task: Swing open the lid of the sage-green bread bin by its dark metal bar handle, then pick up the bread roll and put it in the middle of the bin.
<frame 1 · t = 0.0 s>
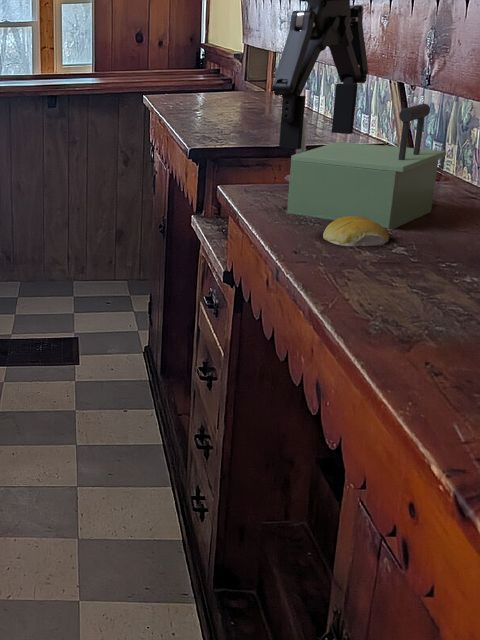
hand: (316, 140, 115), 15 cm above the worktop, tool pointing down, fingers open, 13 cm apart
bread bin: (358, 214, 139), on the worktop
bread roll: (354, 246, 123), on the worktop
screw: (297, 190, 158), on the worktop
bin lid: (370, 131, 134), point 13 cm above the worktop, hinge at 0.0°
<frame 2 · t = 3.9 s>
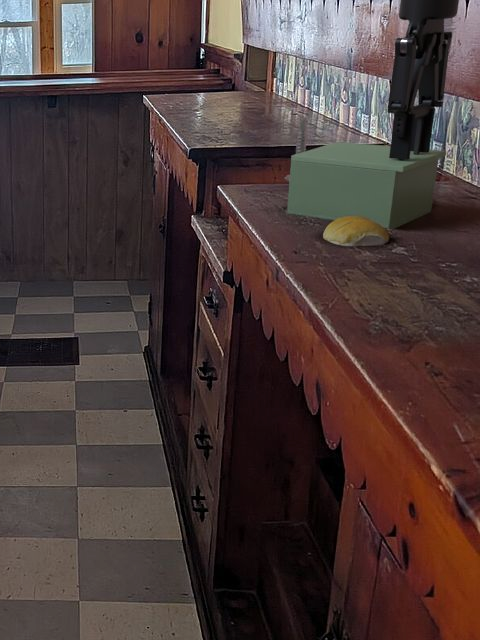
hand: (409, 154, 130), 10 cm above the worktop, tool pointing down, fingers closed on bin lid, 6 cm apart
bin lid: (370, 131, 134), point 13 cm above the worktop, hinge at 0.0°, touching gripper
everything else where it was.
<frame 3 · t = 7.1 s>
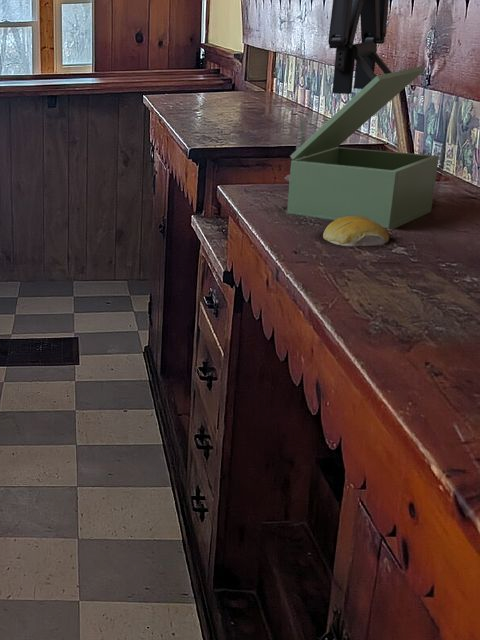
hand: (352, 90, 134), 19 cm above the worktop, tool pointing down, fingers closed on bin lid, 6 cm apart
bin lid: (341, 95, 135), point 18 cm above the worktop, hinge at 44.7°, touching gripper
everything else where it was.
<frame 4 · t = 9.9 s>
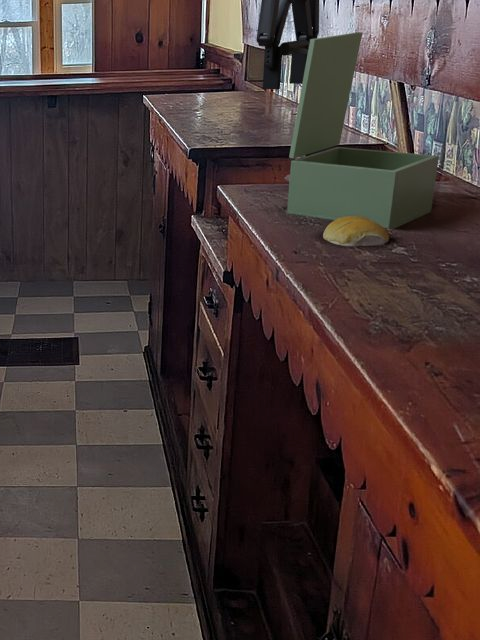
hand: (284, 86, 142), 19 cm above the worktop, tool pointing down, fingers open, 8 cm apart
bin lid: (304, 91, 140), point 19 cm above the worktop, hinge at 83.5°
everything else where it was.
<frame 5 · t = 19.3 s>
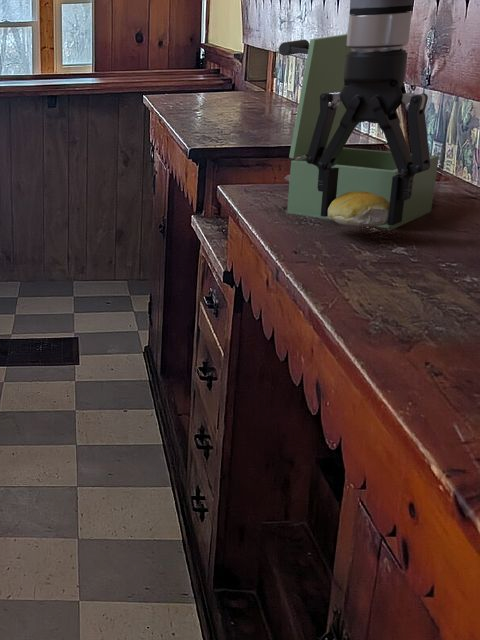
hand: (360, 218, 121), 4 cm above the worktop, tool pointing down, fingers closed on bread roll, 9 cm apart
bread roll: (360, 222, 121), point 4 cm above the worktop, touching gripper
everything else where it was.
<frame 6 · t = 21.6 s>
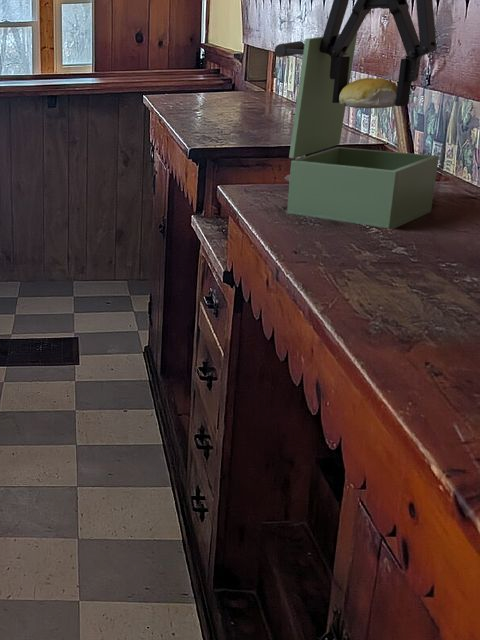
hand: (369, 103, 130), 18 cm above the worktop, tool pointing down, fingers closed on bread roll, 9 cm apart
bread roll: (369, 106, 130), point 17 cm above the worktop, touching gripper
bin lid: (301, 92, 140), point 18 cm above the worktop, hinge at 86.3°, touching gripper, hand
everything else where it was.
when the fingers open (10 cm above the worktop, at t = 38.3 s): bread roll drops 9 cm, resting on bread bin.
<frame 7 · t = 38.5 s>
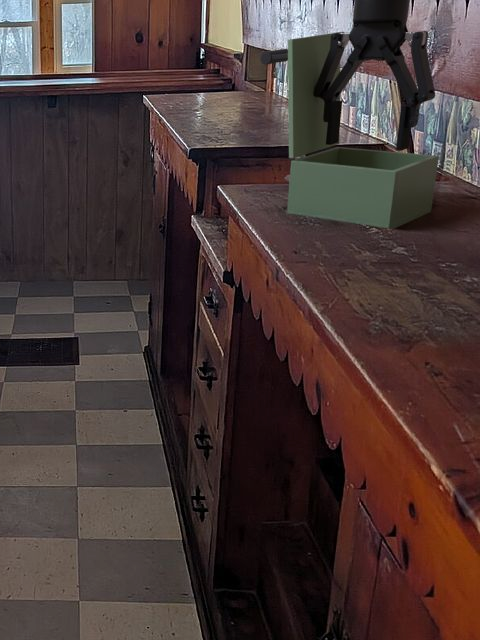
hand: (366, 146, 135), 11 cm above the worktop, tool pointing down, fingers open, 11 cm apart
bread roll: (362, 210, 138), point 1 cm above the worktop, touching bread bin
bin lid: (293, 95, 141), point 18 cm above the worktop, hinge at 95.6°
everything else where it was.
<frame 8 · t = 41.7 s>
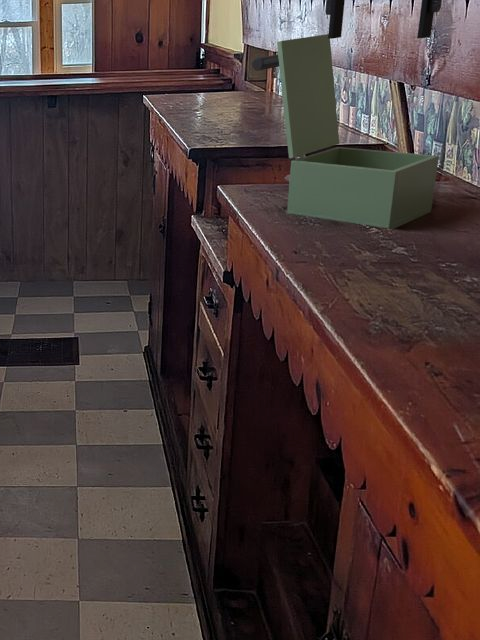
hand: (377, 38, 129), 27 cm above the worktop, tool pointing down, fingers open, 13 cm apart
bin lid: (288, 99, 142), point 17 cm above the worktop, hinge at 101.5°
everything else where it was.
at the end: bin lid at +102° (first picture: +0°); bread roll inside the target area in the bread bin (0.7 cm from its centre), point 0.7 cm above the bread bin's base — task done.
